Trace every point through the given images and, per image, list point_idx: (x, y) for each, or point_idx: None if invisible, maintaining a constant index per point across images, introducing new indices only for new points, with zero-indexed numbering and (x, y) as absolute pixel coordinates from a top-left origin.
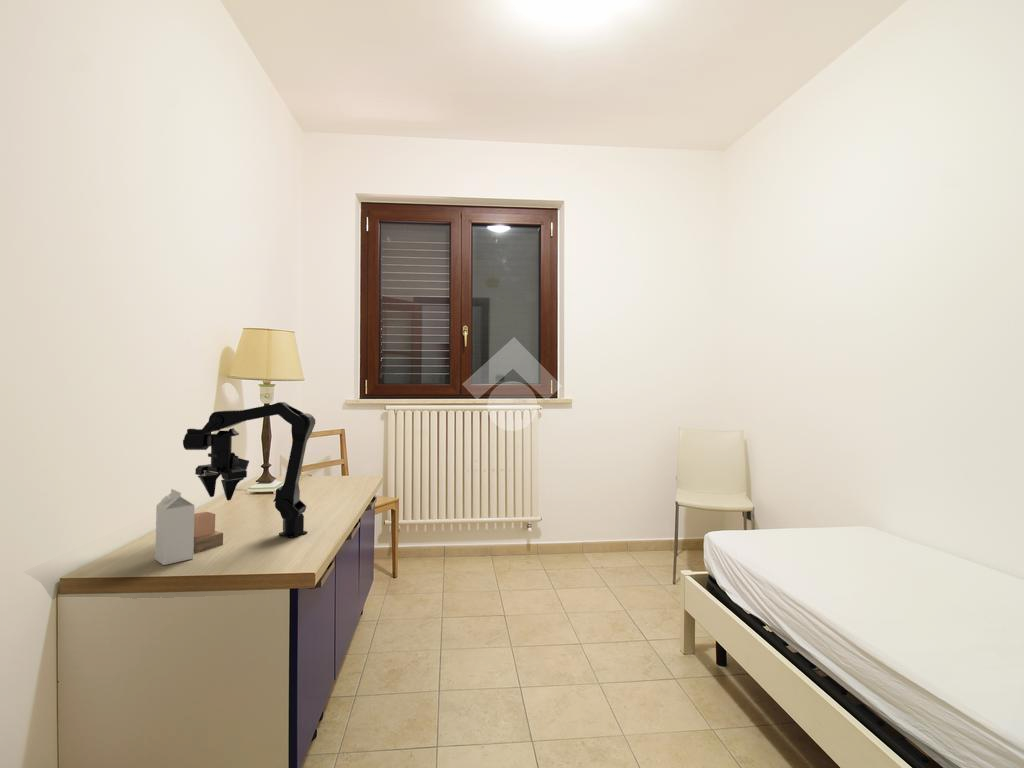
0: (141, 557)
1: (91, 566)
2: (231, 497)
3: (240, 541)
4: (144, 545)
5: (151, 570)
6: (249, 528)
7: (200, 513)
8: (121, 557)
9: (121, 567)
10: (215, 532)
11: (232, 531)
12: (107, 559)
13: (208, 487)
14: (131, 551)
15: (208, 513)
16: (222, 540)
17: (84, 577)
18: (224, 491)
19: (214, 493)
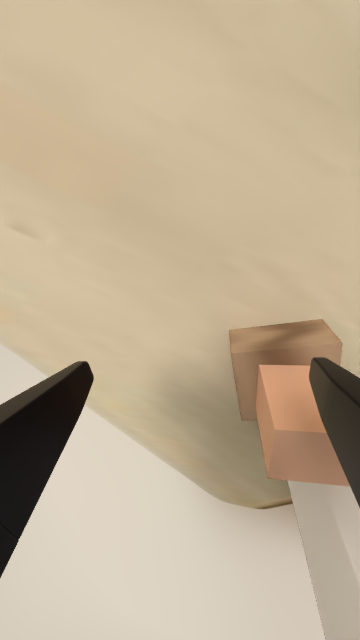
0: (235, 445)
1: (216, 485)
2: (342, 371)
3: (349, 263)
4: (147, 412)
5: None
6: (193, 127)
7: (288, 454)
8: (202, 456)
9: (267, 476)
10: (308, 355)
11: (183, 214)
12: (195, 466)
13: (50, 458)
14: (174, 436)
15: (325, 443)
16: (328, 328)
17: (267, 505)
18: (358, 488)
19: (72, 372)
